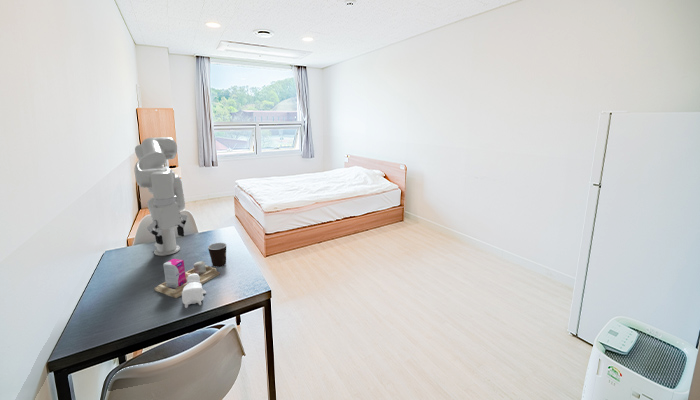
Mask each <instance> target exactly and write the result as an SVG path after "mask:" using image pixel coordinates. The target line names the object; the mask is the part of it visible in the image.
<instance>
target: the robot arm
mask: <svg viewBox="0 0 700 400" xmlns="http://www.w3.org/2000/svg"><path fill="white" fill-rule="evenodd" d="M134 152H135V155H136V157H137V159H138V160H137V162H136V163H135V165H134V175H135V182H136V183H137V185H138V186H139V187H140V188H143V189H144V188H145V189H147V190H148V192H149V193H150V194H152V196H153V197H150V198H149V199H148V200H147V209H148V211H149V214H150V215H149V216H150V218H151V222H152V223H150V224H149V225H148V226H147V227H146V230H147V231H148V232H149V233H150V234H152V235H153V236H154V238H155V243H154V244H153V245H154V247H155V248H156V249H154V251H153V254H154V255H155V256H158V257H164V256H170V255H173V254H176V253H177V252H179V251H180V250H181V247H180V245H178V244H177V240H176V234H175V228H174V227H176V231H177V236H179V237H184V236H185V231H184V229H185V228H184V227H185V225H186V223H187V219H188V215H185V214H181V211H184V210H185V208H186V201H185V195H184V190H183V183H182V180H181V177H180V176H179V175H177V174H176V172H175V171H174V170H173V169H172V168H169V167H164V165H165V163H166V161H167V160H173V159H175V158H176V157H177V153H178V145H177V142H176V141H175V139H174V138H172V137H169V136H165V137H164V136H163V137H161V136H158V137H147V138H145V139H144V140H143V141H141V144H137V145H136V146H135V147H134Z"/></svg>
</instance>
